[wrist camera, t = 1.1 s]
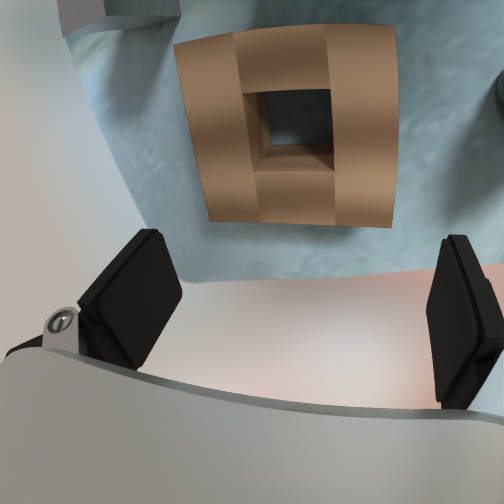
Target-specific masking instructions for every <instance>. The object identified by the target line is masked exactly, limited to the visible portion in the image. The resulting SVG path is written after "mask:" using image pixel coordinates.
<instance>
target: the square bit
mask: <svg viewBox="0 0 504 504" xmlns="http://www.w3.org/2000/svg"><path fill="white" fill-rule="evenodd" d="M57 3H58V11H59V18H60V24H61V30H62V35H63V38H64V37H70V36H76V35H82V34H88V33H96V32H103V31H112V30H123V29H135V28H144V27H147V26H150V25H153V24H156V23H160V22H163V21H166V20H169V19H173V18H176V17H180V16H181V12H180V6H179V0H57Z"/></svg>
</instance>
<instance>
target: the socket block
mask: <svg viewBox="0 0 504 504" xmlns="http://www.w3.org/2000/svg"><path fill="white" fill-rule="evenodd" d="M173 48H174V53H175V58H176V64H177V69H178V74H179V79H180V85H181V90H182V95H183V100H184V105H185V110H186V115H187V120H188V124H189V129H190V134H191V139H192V144H193V148H194V153H195V158H196V162H197V167H198V171H199V176H200V180H201V185H202V189H203V194H204V198H205V203H206V207H207V211H208V216H209V220H210V222H253V223H285V224H312V225H336V226H357V227H376V228H392V220H393V211H394V201H395V189H396V176H397V159H398V132H399V87H398V62H397V46H396V33H395V26H391V25H375V24H309V25H293V26H281V27H271V28H262V29H254V30H247V31H240V32H234V33H228V34H222V35H217V36H211V37H206V38H202V39H197V40H192V41H188V42H184V43H180V44H176V45H173ZM299 89H331V103H332V119H333V138H334V145H331V144H291V145H272V144H271V136H270V128H269V119H268V112H267V104H266V96H265V91H279V90H299Z"/></svg>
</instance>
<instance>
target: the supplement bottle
mask: <svg viewBox="0 0 504 504" xmlns="http://www.w3.org/2000/svg"><path fill="white" fill-rule="evenodd" d="M496 103H497V108H498V112H499V114H500V117H501V119H502V121H503V122H504V72H503V73H502V75H501V76H500V78H499V81H498V84H497V89H496Z"/></svg>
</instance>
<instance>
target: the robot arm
mask: <svg viewBox="0 0 504 504" xmlns="http://www.w3.org/2000/svg"><path fill="white" fill-rule="evenodd" d="M181 298H182V288H181V285H180V282H179V280H178V277H177V274H176V271H175V269H174V266H173V263H172V260H171V257H170V254H169V252H168V249H167V246H166V243H165V240H164V237H163V235H162V234H161V233H159V231H158V230H157V229H141V230H140V231H139V232H138V233H137V234H136V235H135V236H134V237H133V238H132V239H131V240H130V241H129V242H128V244H127V245H126V246H125V247H124V248H123V249H122V250H121V251H120V252H119V253H118V255H117V256H116V257H115V258H114V259H113V260H112V261H111V263H110V264H109V265H108V266H107V267H106V268H105V269H104V270H103V272H102V273H101V274H100V275H99V276H98V278H97V279H96V280H95V281H94V282H93V283H92V285H91V286H90V287H89V288H88V289H87V290H86V292H85V293H84V294H83V295H82V297H81V298H80V299H79V300H78V301H77V303H78V305H79V307H80V308H81V311H80V312H79V313H78V311H77V310H76V309H75V308H73V307H64V308H61V309H59V310H57V311H56V312H54V313H53V314H52V315H51V316H50V317H49V318H48V319H47V321H46V323H45V326H44V332H43V334H42V335H40V336H38V337H35V338H33V339H31V340H29V341H27V342H25V343H22V344H21V345H18V346H16V347H14V348H12V349H10V350H9V351H8V352H7V354H6V357H5V359H4V360H3V362H2V363H1V364H0V504H504V318H503V315H502V312H501V309H500V306H499V304H498V301H497V298H496V296H495V293H494V291H493V288H492V285H491V283H490V281H489V279H487V278H485V276H484V273H483V271H482V269H481V266H480V264H479V262H478V259H477V257H476V255H475V253H474V250H473V248H472V246H471V244H470V242H469V240H468V238H467V236H466V235H454V234H449V235H448V237H447V239H443V240H442V243H441V247H440V252H439V257H438V261H437V266H436V270H435V274H434V278H433V282H432V287H431V290H430V294H429V297H428V301H427V307H426V315H427V321H428V328H429V335H430V343H431V350H432V359H433V369H434V380H435V393H436V401H437V402H441V409H387V408H364V407H346V406H332V405H320V404H310V403H300V402H292V401H291V402H290V401H283V400H276V399H268V398H262V397H255V396H248V395H242V394H236V393H231V392H226V391H220V390H215V389H210V388H205V387H200V386H195V385H191V384H186V383H182V382H177V381H173V380H169V379H164V378H161V377H156V376H153V375H149V374H145V373H141V372H137V369H138V368H139V367H141V366H142V365H143V364H144V362H145V360H146V358H147V357H148V355H149V353H150V352H151V350H152V348H153V346H154V344H155V343H156V341H157V339H158V337H159V336H160V334H161V332H162V330H163V329H164V327H165V326H166V324H167V322H168V320H169V319H170V317H171V315H172V314H173V312H174V310H175V308H176V307H177V305H178V303H179V302H180V300H181Z"/></svg>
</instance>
